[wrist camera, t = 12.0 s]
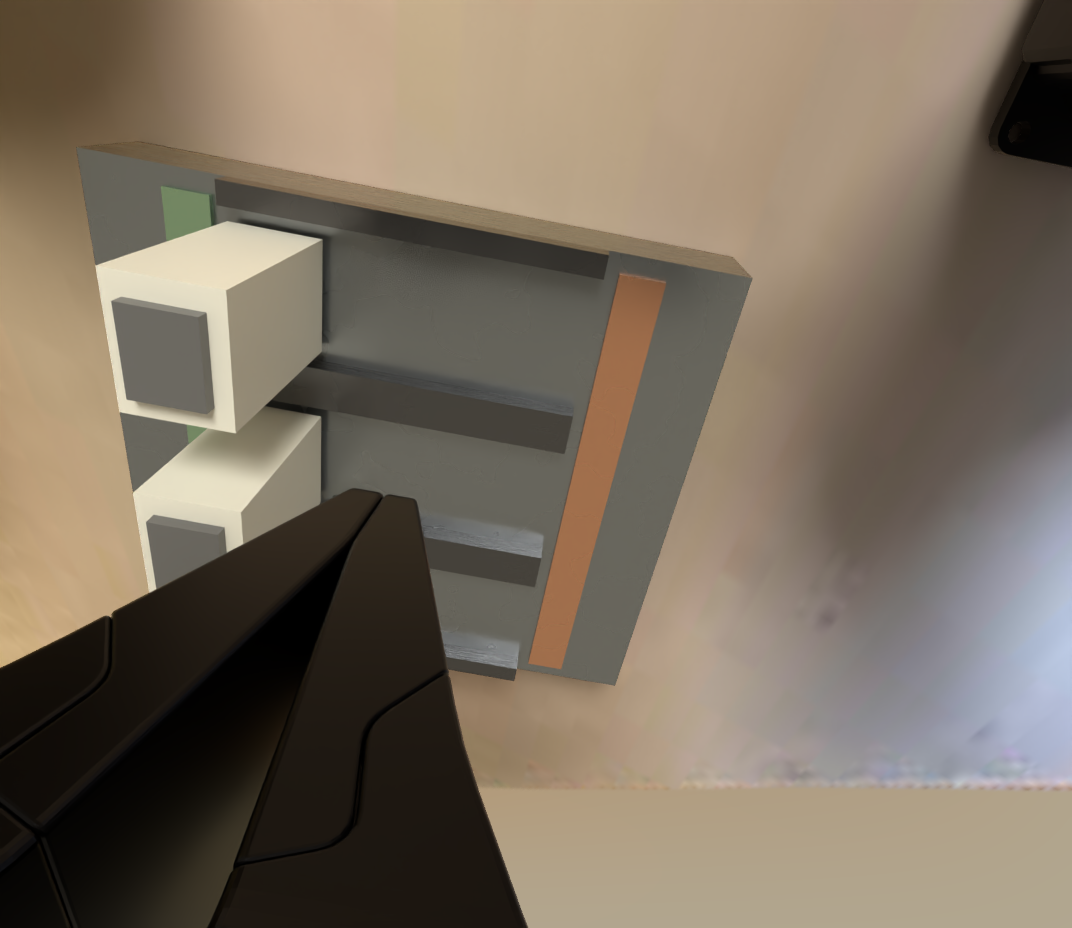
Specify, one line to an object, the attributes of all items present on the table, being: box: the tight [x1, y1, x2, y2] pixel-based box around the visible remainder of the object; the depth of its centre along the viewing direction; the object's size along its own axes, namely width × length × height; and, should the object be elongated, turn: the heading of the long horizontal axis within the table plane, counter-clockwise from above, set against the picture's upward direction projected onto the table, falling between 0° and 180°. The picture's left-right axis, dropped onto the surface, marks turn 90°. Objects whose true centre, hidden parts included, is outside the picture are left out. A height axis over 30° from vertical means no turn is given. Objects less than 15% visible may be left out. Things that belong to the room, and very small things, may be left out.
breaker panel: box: [76, 141, 752, 686], centre depth 21 cm, size 17×15×3 cm
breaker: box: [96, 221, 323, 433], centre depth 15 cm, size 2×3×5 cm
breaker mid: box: [133, 406, 321, 593], centre depth 17 cm, size 2×3×5 cm
